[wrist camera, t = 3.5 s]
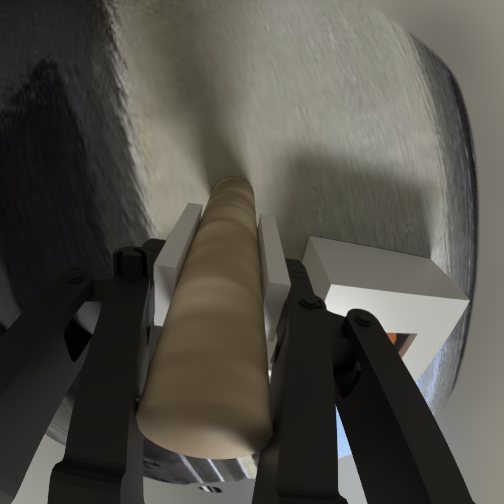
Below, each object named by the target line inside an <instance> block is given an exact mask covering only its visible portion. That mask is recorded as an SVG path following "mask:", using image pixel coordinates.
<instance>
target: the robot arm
mask: <svg viewBox="0 0 504 504" xmlns="http://www.w3.org/2000/svg"><path fill="white" fill-rule="evenodd" d="M201 212H202V205H200V204H194V203H188V204H187V206H186V208H185V210H184V211H183V213H182V215H181V216H180V218H179V220H178V222H177V223H176V225H175V227H174V229H173V230H172V232H171V234H170V236H169V237H168V239H167V241H166V240H160V239H153V238H152V239H150V240H148V241H147V242H145V243H144V244H143V246H142V247H136V246H127V247H122V248H120V249H118V250H116V251H115V252H114V253H113V266H114V276H113V279H106V280H93V276H92V273H91V272H90V270H87V269H85V268H79V267H76V268H71V269H68V270H66V271H64V272H63V273H61V274H60V275H59V276H58V277H57V278H56V279H55V280H54V281H53V282H52V283H51V284H50V285H49V286H48V287H47V288H46V289H45V290H44V291H43V292H42V293H41V294H40V295H39V296H38V297H37V298H36V299H35V300H34V301H33V302H32V303H31V304H30V305H29V307H28V308H27V309H26V310H25V311H24V312H23V313H22V314H21V315H20V316H19V317H18V318H17V320H16V321H15V322H14V323H13V324H12V325H11V326H10V327H9V329H8V330H7V331H6V332H4V331H3V330H1V329H0V504H11V503H12V501H13V500H14V498H15V496H16V494H17V492H18V490H19V488H20V486H21V484H22V481H23V479H24V477H25V474H26V472H27V470H28V467H29V465H30V463H31V461H32V459H33V457H34V454H35V452H36V450H37V448H38V446H39V444H40V442H41V440H42V438H43V436H44V434H45V432H46V430H47V428H48V426H49V424H50V422H51V420H52V419H53V417H54V415H55V413H56V411H57V409H58V407H59V405H60V404H61V402H62V400H63V398H64V396H65V395H66V393H67V391H68V389H69V388H70V386H71V384H72V382H73V381H74V379H75V377H76V376H77V374H78V372H79V370H80V369H81V367H82V365H83V364H84V366H83V370H82V373H81V377H80V381H79V385H78V389H77V393H76V397H75V402H74V406H73V411H72V416H71V421H70V426H69V431H68V436H67V442H66V449H65V454H64V458H63V460H62V461H61V462H59V463H57V464H55V466H54V468H53V469H52V473H51V477H50V483H49V494H48V504H145V503H144V497H143V434H142V433H141V431H140V430H139V427H138V423H137V419H136V413H137V410H138V406H139V402H140V399H141V395H142V392H143V388H144V385H145V381H146V378H147V370H148V360H149V350H150V341H151V333H152V332H151V322H152V320H153V317H154V325H158V326H163V323H164V320H165V317H166V314H167V311H168V308H169V305H170V302H171V299H172V297H173V294H174V291H175V288H176V285H177V282H178V280H179V277H180V274H181V271H182V268H183V266H184V263H185V260H186V257H187V255H188V252H189V249H190V247H191V244H192V241H193V239H194V236H195V234H196V231H197V228H198V226H199V223H200V220H201ZM257 234H258V246H259V258H260V270H261V282H262V294H263V306H264V318H265V331H266V341H267V342H273V341H274V338H275V334H277V343H276V346H275V349H274V351H273V354H272V357H271V360H270V363H272V370H271V378H270V396H271V409H272V423H273V436H272V437H271V439H270V441H269V443H268V444H267V446H266V447H265V448H264V449H262V450H260V456H259V462H258V469H257V475H256V481H255V487H254V493H253V499H252V504H348V502H347V500H346V499H345V498H343V497H342V496H341V495H340V494H339V492H338V450H337V423H336V407H337V410H338V413H339V416H340V418H341V421H342V424H343V427H344V431H345V434H346V437H347V440H348V443H349V446H350V449H351V452H352V455H353V458H354V461H355V464H356V468H357V471H358V474H359V477H360V480H361V483H362V487H363V490H364V493H365V497H366V500H367V503H368V504H475V503H474V502H473V500H472V499H471V496H470V494H469V492H468V489H467V486H466V484H465V482H464V479H463V477H462V475H461V473H460V470H459V468H458V466H457V464H456V462H455V459H454V457H453V455H452V453H451V451H450V449H449V447H448V444H447V442H446V440H445V438H444V436H443V434H442V432H441V430H440V428H439V426H438V424H437V422H436V420H435V418H434V416H433V414H432V413H431V411H430V409H429V407H428V405H427V403H426V401H425V399H424V398H423V396H422V394H421V392H420V390H419V388H418V387H417V385H416V383H415V381H414V379H413V378H412V376H411V374H410V372H409V371H408V369H407V367H406V365H405V364H404V362H403V360H402V358H401V357H400V355H399V353H398V352H397V350H396V348H395V347H394V345H393V343H392V342H391V340H390V338H389V337H388V335H387V333H386V332H385V330H384V329H383V327H382V325H381V324H380V322H379V320H378V319H377V318H376V317H375V316H374V315H373V314H371V313H370V312H369V311H367V310H364V309H358V308H355V309H351V310H349V311H348V313H347V315H346V317H345V316H342V315H339V314H335V313H333V312H330V311H328V310H327V307H326V304H325V302H324V301H323V300H322V299H321V298H320V297H318V296H317V295H315V294H314V291H313V288H312V285H311V282H310V280H309V276H308V274H307V270H306V267H305V266H304V265H303V264H302V263H301V262H300V261H299V260H294V259H287V258H284V254H283V249H282V245H281V241H280V237H279V233H278V229H277V225H276V221H275V217H274V216H269V215H263V214H260V219H259V224H258V228H257ZM358 364H359V365H360V367H359V365H358ZM360 368H361V369H360ZM335 404H336V405H335Z"/></svg>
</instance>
